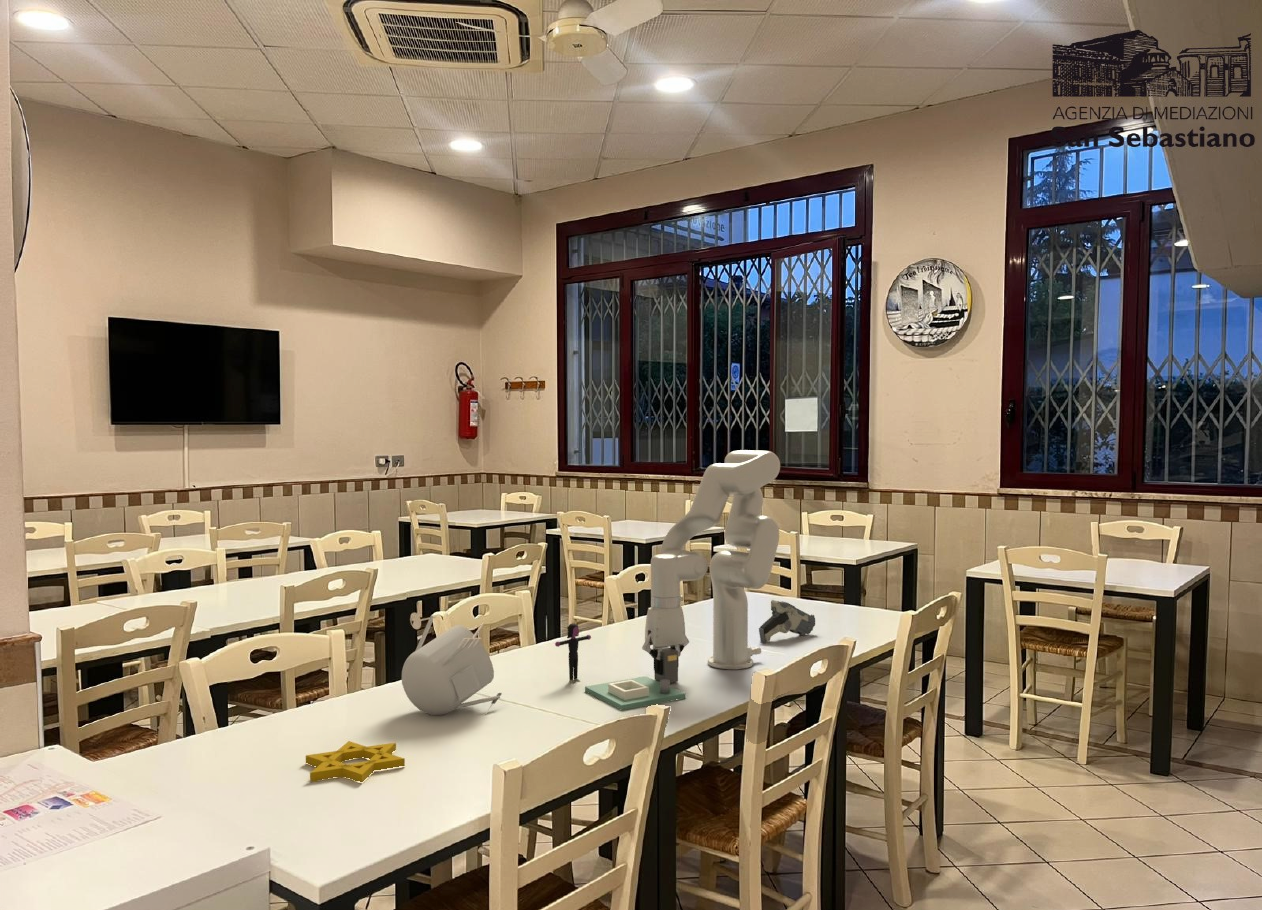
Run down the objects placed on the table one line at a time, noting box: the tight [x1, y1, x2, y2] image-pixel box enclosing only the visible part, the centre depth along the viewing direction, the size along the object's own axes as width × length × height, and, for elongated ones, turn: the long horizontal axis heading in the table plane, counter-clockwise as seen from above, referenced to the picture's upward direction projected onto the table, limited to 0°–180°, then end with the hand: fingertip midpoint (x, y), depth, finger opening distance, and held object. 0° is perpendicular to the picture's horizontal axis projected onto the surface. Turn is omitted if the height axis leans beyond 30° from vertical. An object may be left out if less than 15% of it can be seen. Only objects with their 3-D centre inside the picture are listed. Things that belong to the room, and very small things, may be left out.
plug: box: [654, 647, 679, 684], centre depth 235 cm, size 4×6×8 cm
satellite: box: [401, 612, 503, 716], centre depth 209 cm, size 23×20×25 cm
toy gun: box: [758, 599, 816, 644], centre depth 283 cm, size 4×21×15 cm, turn 124°
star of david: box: [305, 741, 406, 782], centre depth 176 cm, size 20×17×2 cm
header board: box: [584, 676, 686, 711], centre depth 223 cm, size 18×18×4 cm
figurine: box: [554, 622, 592, 684], centre depth 235 cm, size 12×4×15 cm, turn 136°
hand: (666, 671), depth 235 cm, fingers closed on plug, 4 cm apart
